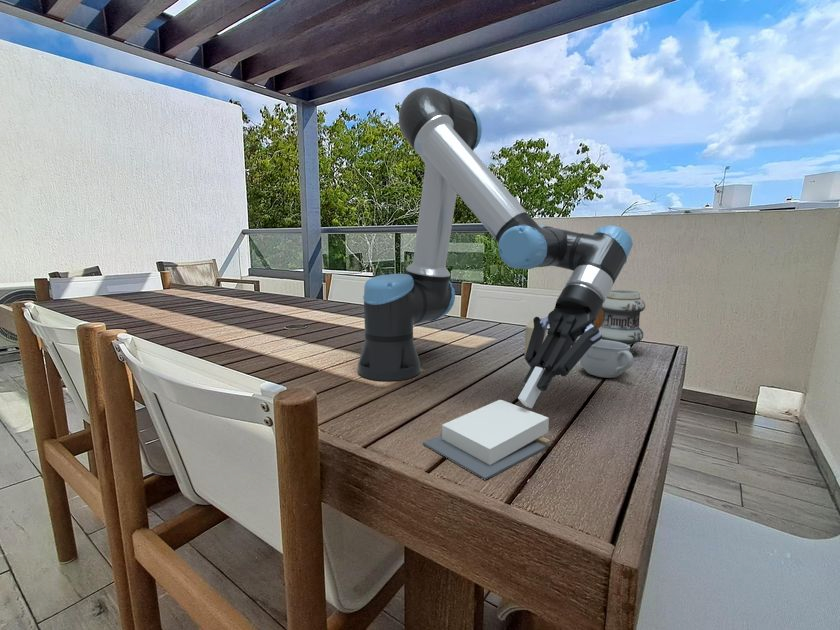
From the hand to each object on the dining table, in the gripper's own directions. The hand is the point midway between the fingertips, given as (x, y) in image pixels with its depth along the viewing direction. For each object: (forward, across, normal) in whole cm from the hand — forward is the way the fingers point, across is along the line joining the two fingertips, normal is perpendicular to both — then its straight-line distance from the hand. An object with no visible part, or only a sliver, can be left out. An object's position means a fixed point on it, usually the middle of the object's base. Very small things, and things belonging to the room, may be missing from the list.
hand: (524, 403), depth 70 cm
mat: (+10, +1, +3) cm, 10 cm away
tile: (+1, 0, -2) cm, 2 cm away
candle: (-25, +26, -33) cm, 49 cm away
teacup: (-24, +5, -32) cm, 40 cm away
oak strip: (+5, 0, -2) cm, 5 cm away
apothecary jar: (-41, +13, -49) cm, 65 cm away
